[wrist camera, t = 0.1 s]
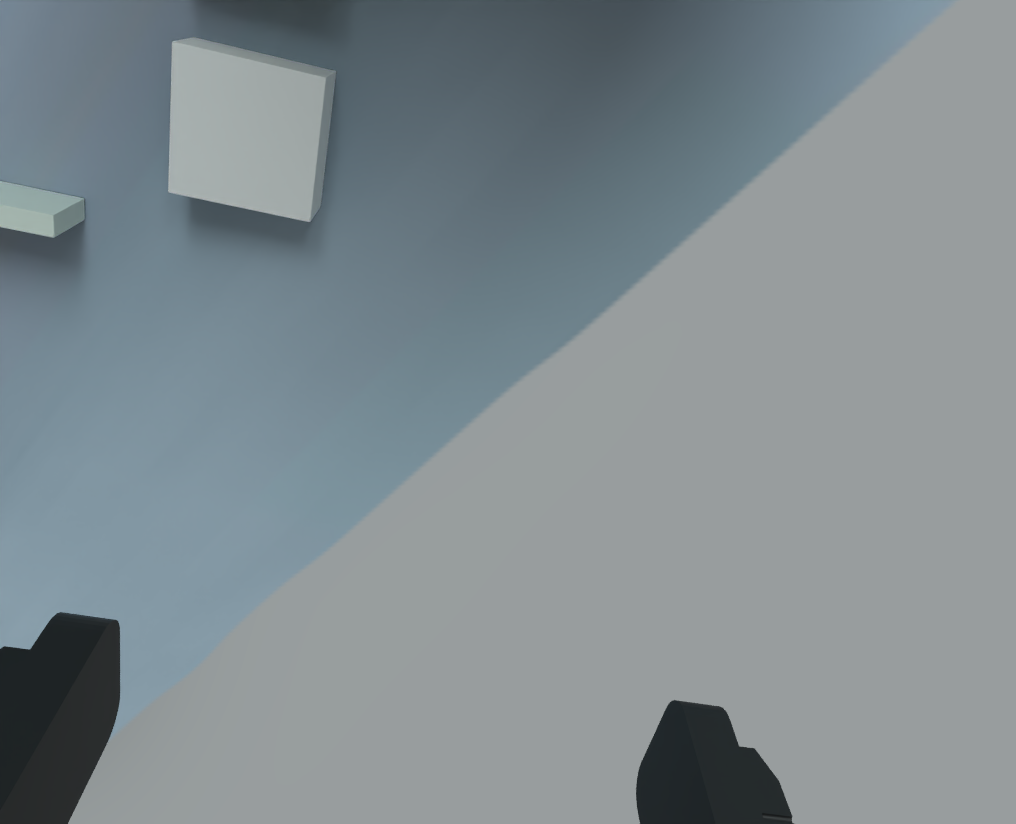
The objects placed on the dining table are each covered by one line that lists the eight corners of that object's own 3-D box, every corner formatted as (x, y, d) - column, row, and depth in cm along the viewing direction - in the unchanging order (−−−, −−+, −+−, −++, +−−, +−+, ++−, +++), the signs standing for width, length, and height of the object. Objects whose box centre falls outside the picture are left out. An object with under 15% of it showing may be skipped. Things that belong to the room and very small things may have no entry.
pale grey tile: (196, 36, 34) (172, 41, 31) (337, 70, 34) (325, 77, 32) (190, 177, 36) (168, 192, 34) (321, 205, 37) (309, 222, 34)
